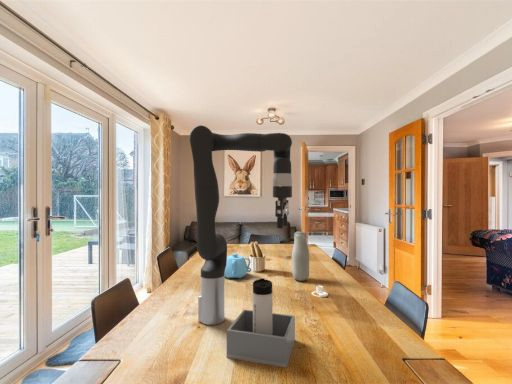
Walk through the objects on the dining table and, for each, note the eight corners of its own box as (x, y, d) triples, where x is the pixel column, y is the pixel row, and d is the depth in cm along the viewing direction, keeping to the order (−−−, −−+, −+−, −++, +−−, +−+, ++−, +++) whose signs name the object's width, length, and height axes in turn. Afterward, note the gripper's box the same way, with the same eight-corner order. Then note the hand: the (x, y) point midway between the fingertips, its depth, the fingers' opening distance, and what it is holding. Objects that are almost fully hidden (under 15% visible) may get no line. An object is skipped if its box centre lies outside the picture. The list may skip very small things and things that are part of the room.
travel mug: (271, 339, 93) (271, 278, 93) (273, 349, 86) (273, 284, 87) (252, 339, 93) (252, 278, 93) (253, 350, 86) (252, 284, 86)
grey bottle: (308, 278, 166) (308, 230, 166) (310, 283, 156) (310, 232, 156) (291, 277, 167) (291, 230, 167) (292, 282, 157) (292, 232, 157)
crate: (226, 357, 84) (226, 330, 84) (244, 332, 99) (244, 309, 99) (286, 367, 79) (286, 338, 79) (294, 339, 94) (294, 315, 94)
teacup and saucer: (328, 298, 133) (328, 290, 133) (311, 297, 135) (311, 289, 135) (327, 292, 142) (327, 284, 142) (311, 291, 144) (311, 283, 144)
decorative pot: (253, 277, 168) (254, 254, 168) (230, 282, 158) (231, 257, 158) (238, 271, 181) (239, 250, 181) (216, 275, 171) (216, 253, 172)
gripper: (276, 186, 118) (276, 224, 118) (268, 184, 105) (268, 228, 104) (294, 186, 116) (294, 225, 116) (288, 184, 103) (288, 229, 102)
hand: (282, 226), depth 110 cm, fingers open, 8 cm apart
